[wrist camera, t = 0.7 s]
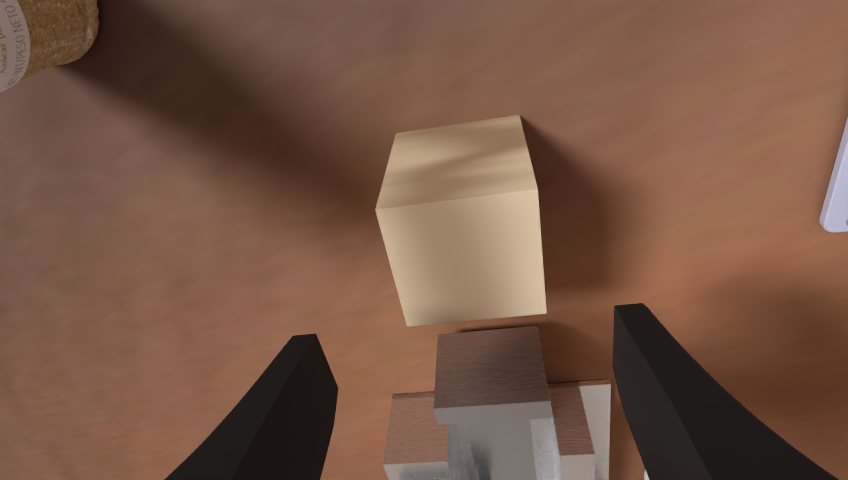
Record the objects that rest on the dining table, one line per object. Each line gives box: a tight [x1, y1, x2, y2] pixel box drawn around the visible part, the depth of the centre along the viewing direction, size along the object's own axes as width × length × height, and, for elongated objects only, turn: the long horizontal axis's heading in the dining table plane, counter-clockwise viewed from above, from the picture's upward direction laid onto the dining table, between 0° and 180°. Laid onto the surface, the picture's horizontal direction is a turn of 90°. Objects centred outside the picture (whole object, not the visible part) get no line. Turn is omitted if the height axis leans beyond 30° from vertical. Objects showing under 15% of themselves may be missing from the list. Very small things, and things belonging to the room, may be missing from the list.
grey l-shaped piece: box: [434, 326, 552, 480], centre depth 24 cm, size 8×8×4 cm
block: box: [375, 115, 547, 326], centre depth 18 cm, size 4×4×6 cm
